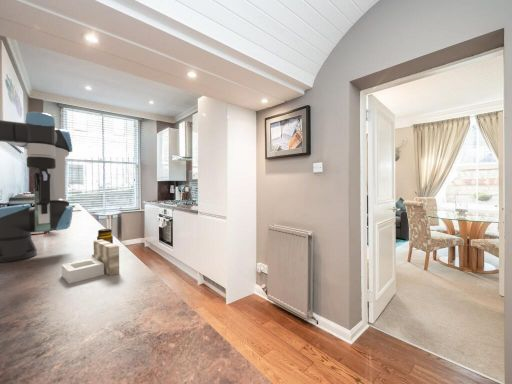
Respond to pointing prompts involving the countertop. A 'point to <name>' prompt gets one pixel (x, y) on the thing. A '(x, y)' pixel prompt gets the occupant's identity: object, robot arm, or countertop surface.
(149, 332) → the countertop surface
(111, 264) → the wall
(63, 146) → the robot arm
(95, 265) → the socket block
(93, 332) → the countertop surface
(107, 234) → the condiment
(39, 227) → the dowel
